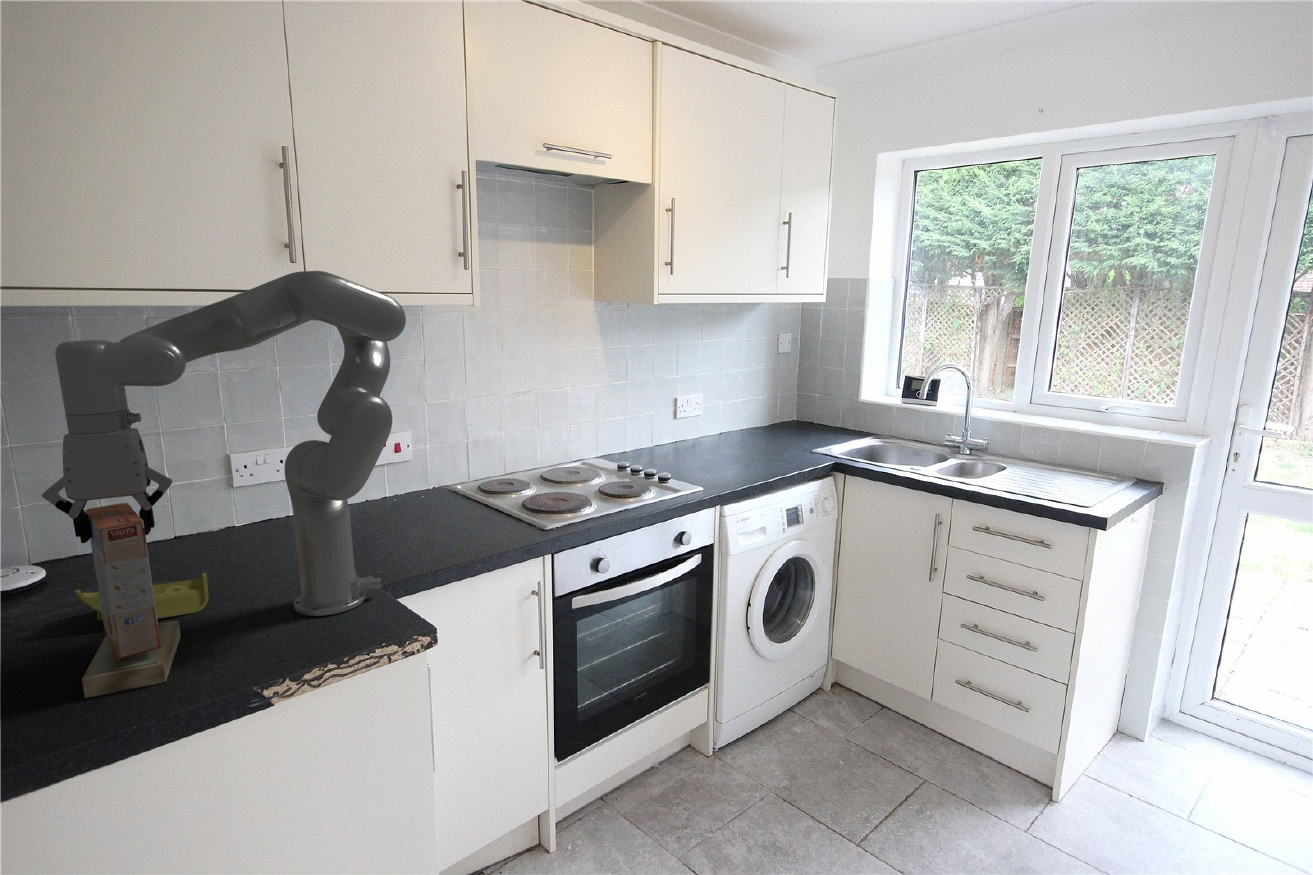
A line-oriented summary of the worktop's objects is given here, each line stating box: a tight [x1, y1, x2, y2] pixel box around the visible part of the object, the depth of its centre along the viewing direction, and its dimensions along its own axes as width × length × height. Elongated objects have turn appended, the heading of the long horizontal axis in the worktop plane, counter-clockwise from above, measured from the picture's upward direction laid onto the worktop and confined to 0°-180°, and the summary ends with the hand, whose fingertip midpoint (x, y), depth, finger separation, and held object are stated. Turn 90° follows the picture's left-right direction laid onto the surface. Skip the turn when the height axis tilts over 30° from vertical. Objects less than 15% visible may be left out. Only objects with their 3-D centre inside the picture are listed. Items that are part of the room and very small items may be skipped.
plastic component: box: [74, 572, 210, 622], centre depth 136 cm, size 20×7×10 cm
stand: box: [81, 619, 182, 699], centre depth 117 cm, size 10×17×3 cm, turn 26°
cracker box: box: [85, 502, 161, 659], centre depth 114 cm, size 14×6×21 cm, turn 43°
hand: (117, 535), depth 113 cm, fingers closed on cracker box, 7 cm apart
